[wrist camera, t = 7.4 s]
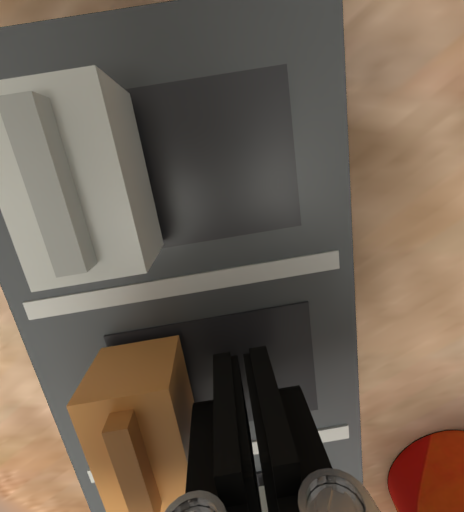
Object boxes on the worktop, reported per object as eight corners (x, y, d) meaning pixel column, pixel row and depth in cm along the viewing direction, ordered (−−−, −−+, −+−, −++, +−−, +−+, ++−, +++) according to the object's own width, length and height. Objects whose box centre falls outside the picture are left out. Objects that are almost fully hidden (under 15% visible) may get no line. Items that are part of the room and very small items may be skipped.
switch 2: (101, 347, 10) (53, 426, 7) (178, 334, 10) (164, 407, 7) (131, 445, 11) (103, 546, 8) (201, 433, 11) (197, 530, 8)
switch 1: (31, 108, 8) (-75, 77, 5) (130, 93, 8) (81, 53, 5) (78, 258, 9) (14, 304, 6) (163, 244, 9) (140, 283, 6)
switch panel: (-14, 74, 11) (-100, 40, 8) (306, 24, 11) (342, -28, 8) (140, 526, 17) (125, 603, 14) (340, 491, 17) (367, 560, 14)
